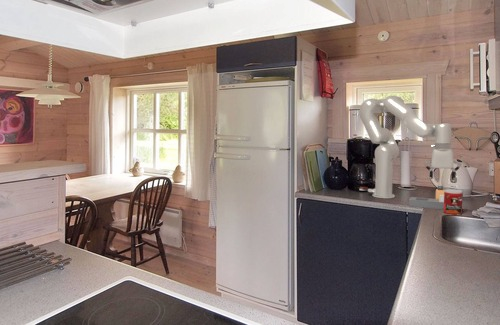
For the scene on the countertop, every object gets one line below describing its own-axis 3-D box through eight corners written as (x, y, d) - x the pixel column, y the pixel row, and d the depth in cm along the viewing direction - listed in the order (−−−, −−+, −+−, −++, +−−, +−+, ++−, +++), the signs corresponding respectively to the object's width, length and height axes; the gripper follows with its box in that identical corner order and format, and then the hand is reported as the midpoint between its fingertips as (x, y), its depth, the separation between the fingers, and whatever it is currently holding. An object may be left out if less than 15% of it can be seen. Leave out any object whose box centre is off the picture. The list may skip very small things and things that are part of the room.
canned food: (444, 214, 163) (445, 191, 162) (442, 210, 170) (443, 188, 169) (463, 215, 160) (464, 192, 159) (460, 211, 167) (461, 189, 166)
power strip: (408, 206, 180) (409, 194, 180) (410, 203, 187) (410, 191, 187) (452, 210, 170) (453, 197, 170) (452, 207, 177) (453, 194, 176)
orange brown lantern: (435, 204, 183) (436, 186, 182) (435, 203, 186) (436, 185, 185) (443, 205, 181) (444, 187, 180) (444, 204, 184) (444, 185, 183)
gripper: (423, 147, 182) (423, 179, 183) (462, 147, 173) (461, 180, 174) (424, 146, 188) (424, 177, 189) (461, 146, 179) (461, 178, 180)
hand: (442, 178), depth 182 cm, fingers open, 9 cm apart
